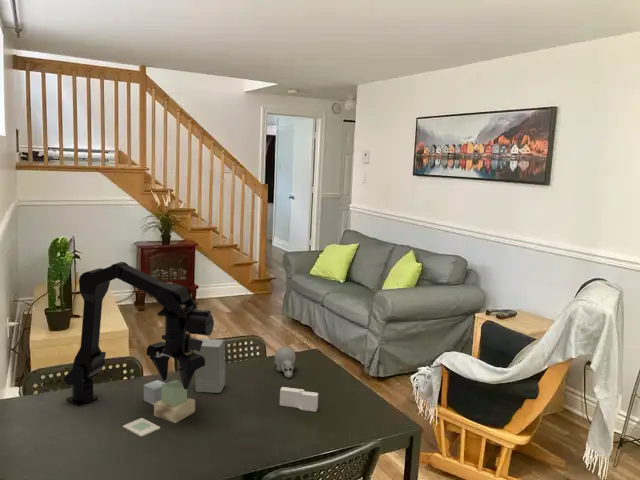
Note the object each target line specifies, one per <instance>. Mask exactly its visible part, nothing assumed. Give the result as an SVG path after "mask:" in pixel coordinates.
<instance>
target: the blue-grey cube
mask: <svg viewBox="0 0 640 480" xmlns="http://www.w3.org/2000/svg"><path fill="white" fill-rule="evenodd" d="M165 383H166V382H164V381H161V380H159V379H157V380H153V381H151V382H147V383H145V384H143V402H144V401H145V403H148V404H150V405H152V406H154V403H156V402H158V401H160V400H161V387H162V384H165Z"/></svg>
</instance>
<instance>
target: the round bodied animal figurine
mask: <svg viewBox="0 0 640 480" xmlns="http://www.w3.org/2000/svg"><path fill="white" fill-rule="evenodd" d="M295 361H296V353H295V351H294V349H292V348H291V347H288V346H282V347H280V348H278V349H277V350H276V351H275V353H274V364H275V365H276V371H278V372H280V373H281V372H283V373H284V374H283V375H284V377H286V378H287V379H289V378H292V376H293V371H294V368H295V367H294V363H295Z"/></svg>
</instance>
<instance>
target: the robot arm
mask: <svg viewBox="0 0 640 480" xmlns="http://www.w3.org/2000/svg"><path fill="white" fill-rule="evenodd" d="M115 279H118V280H120V281H121V282H124V283H125V284H128V285H130V286H132V287H134V288H136V289H138V290H140V291H142V292H144V293H146V294H148V295H149V296H151V297H153V298H154V299H155V300H156V302H157V303H158V304H159V305H161V306H162V307H163V308H162V309H161V310H160V311H159V312H158V313H157V316H161V317H164V318H165V319H164V334H162V335H161V340H164V341H159V342H156V343H152V344H149V345H148V346H147V348H146V356H149V359H150V360H151V362H152V363H153V365H154V366H155V368H156V370H157V372H158V374H159V375H160V378H161V379H162V382H164V381H167V379H168V373H169V372H168V369H169V360H170V359H174V360H176V361H177V360H178V362H179V367H180V368H178V370H179V375H180V379H181V382H182V384H183V387H184V389H185V390H186V389H187V390H188V388H189V386H190V384H191V381H192V379H193V376H194V375H195V371H196V370H197V369H199V368H201V367H203V366H205V358H204V357H203V356H201V355H199V354H196V353H191V352H192V351H194V350H196V351H199V352H200V350H201V346H202V343H203V341H202V340H200V339H199V338H196V337H192V336H191V335H200V336H211V335H212V333H213V330H214V326H215V320H214V317H213V315H212V314H211V313H212V312H211V310H208V309H206V310H203V309H202V310H201V309H200V310H199V309H198V307H197V305H196V304H195V302H194V300H193V299H192V297H191V296H190V292H189V289H188V288H187V287H186V286H184V285H182V284H176V283H173V282H166V281H162V280H159V279H158V278H155V277H154V276H152V275H149V274H147V273H146V272H143V271H141V270H139V269H138V268H135V267H133V266H131V265H129V263H127V262H125V261H120V262H117V263H113V264H111V265H110V266H107V267H106V268H101V267H99V268H95V269H92V270H89V271H85V272H83V273H82V274H81V275H80V276H79V278H78V288H79V293H80V295H81V297H82V299H83V311H82V321H81V322H82V323H81V324H82V326H81V337H80V338H81V339H80V348H79V349H78V351H77V353H76V355H75V357H74V359H73V365H72V368H71V370H70V371H69V372H68V373H67V374H66V375H65V376H64V377H63V380H64V382H65V384H66V385H69V386H71V396H69V397H66V400H67V401H69V402H70V403H72V404H74V405H76V406H77V407H79V406H82V405H85V404H87V403H90V402H93V401H96V400H98V399H99V397H98V396H97V395H95V394H94V378H95V377H97V376H98V375H99V374H100V371H101V370H102V369H103V367H104V366H105V365H106V354H107V353H106V351H102V350H101V347H100V333H101V324H102V323H101V321H102V309H103V300H104V298H105V296H106V294H107V293H108V290H109V288H110V284H111V281H113V280H115ZM183 306H185V307H183ZM189 353H191V354H189Z"/></svg>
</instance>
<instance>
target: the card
mask: <svg viewBox="0 0 640 480" xmlns="http://www.w3.org/2000/svg"><path fill="white" fill-rule="evenodd" d="M122 428H124V429H126V430H127V431H129V432H131V433H133V434H135V435H137V436H139V437H144V436H147V435H148V434H151V433H153V432H156V431H158V430H160V429H161V426H159V425H156V424H155V423H153V422H151V421H149V420H147V419H145V418H143V417H141V418H138V419H135V420H133V421H130V422H128V423H126V424H124V425H123V426H122Z"/></svg>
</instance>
